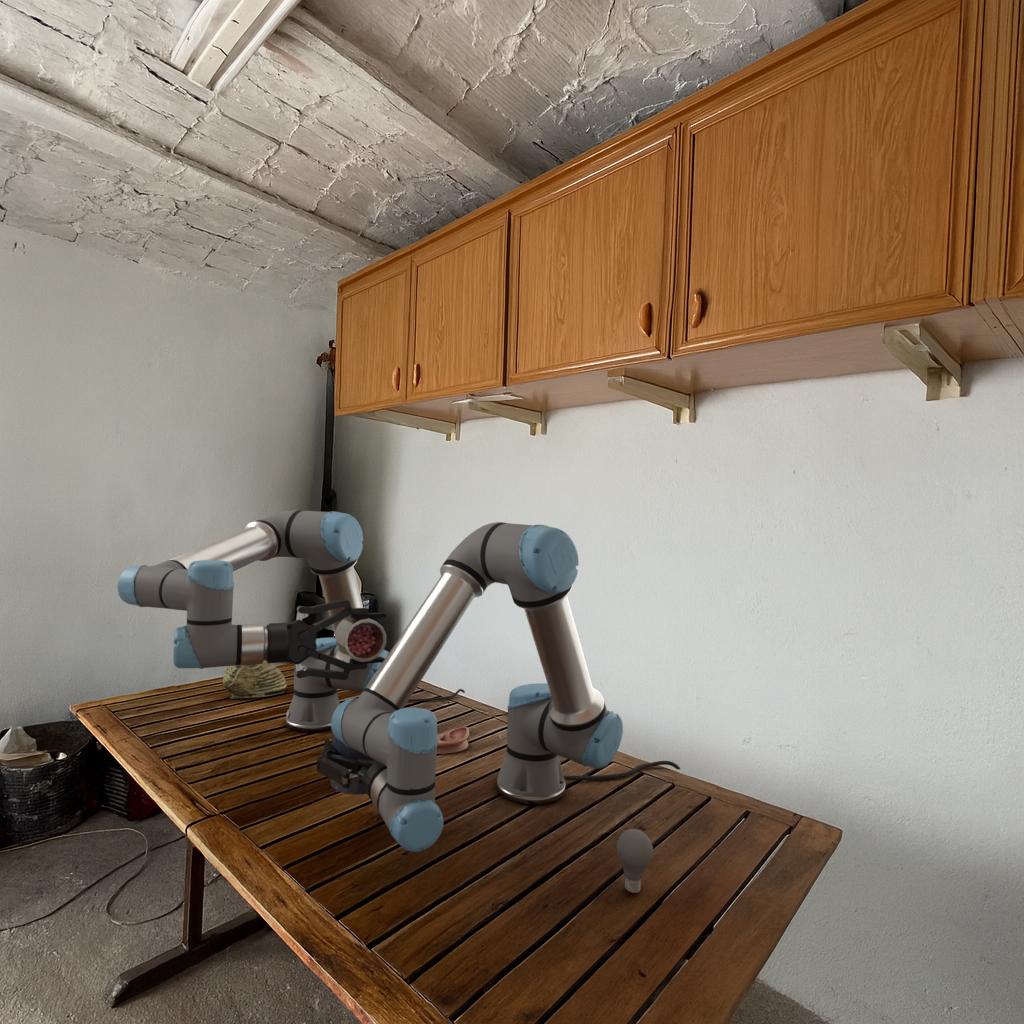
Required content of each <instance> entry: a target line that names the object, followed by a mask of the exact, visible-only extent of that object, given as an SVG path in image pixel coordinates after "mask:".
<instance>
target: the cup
mask: <svg viewBox="0 0 1024 1024" xmlns="http://www.w3.org/2000/svg"><path fill="white" fill-rule="evenodd" d="M362 623H365V624H369V625H370V627H369V628H371V629H372V630H373V631H374V633H373V636H374V637H375V638H376V640H375V642H376V643H375V645H373V647H369V648H371V651H370V652H366V653H365V654H364V655H363V654H361V655H359V656H356V655H355V654H352V653H351V652H350V650H349V648H348V636H349V633H350V631H351V630H352V629H353V628H354V627H356V626H357V625H359V624H360V627H362V626H361V624H362ZM363 628H366V626H365V627H363ZM357 629H359V627H357ZM366 629H368V628H366ZM334 638H335V640H336V643H337V645H338V647H339V648H340V649H341V650H342V651H343V652H345V653H346V654H347V655H349V656H350V657H351V658H353V659H354V660H357V661H360V662H367V661H371V660H373V659H375V658H377V657H378V656H379V655H380V654H381V653H382V651H383V650H385V647H386V644H387V633H386V631H385V628H384V626H382V625H381V624H380V623H379V622H378V621H376V620H374V619H373V618H359V619H353V618H351V616H348V617H346V618H344V619H343V620H342V621H341V622H340V623H339V625H338V626H337V628H336V632H335V633H334Z"/></svg>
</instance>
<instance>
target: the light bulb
mask: <svg viewBox="0 0 1024 1024" xmlns="http://www.w3.org/2000/svg"><path fill="white" fill-rule="evenodd" d="M615 849H616V854H617V857H618V859H619V861H620V863H621V865H622V867H623V873H624V874H623V875H624V876H625V878H624V888H625V890H627V891H628V892H630V893H634V894H635V893H639V892H640V891H641V889H642V887H641V886H642V879H643V877H644V875H645V871H646V868H647V867H648V866H649V864H650V863H651V861H652V859H653V855H654V847H653V843H652V841H651V838H649V836H648V835H647V834H646V833H645V832H643V831H642V830H641V829H636V828H629V829H627V830H625V831H623V832H622V833H621V834H620V835H619V837H618V839H617V841H616V847H615Z"/></svg>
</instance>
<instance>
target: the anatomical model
mask: <svg viewBox="0 0 1024 1024" xmlns="http://www.w3.org/2000/svg"><path fill="white" fill-rule="evenodd" d="M469 736H470V729H469V727H468V726H460V727H455V728H453V729H449V730H447V731H444V732H441V733H437V737H438V744H437V755H443V754H451V753H458V752H461V751H464V750H466V749H467V748H468V747H469V742H468V740H467V739H468V738H469Z"/></svg>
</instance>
